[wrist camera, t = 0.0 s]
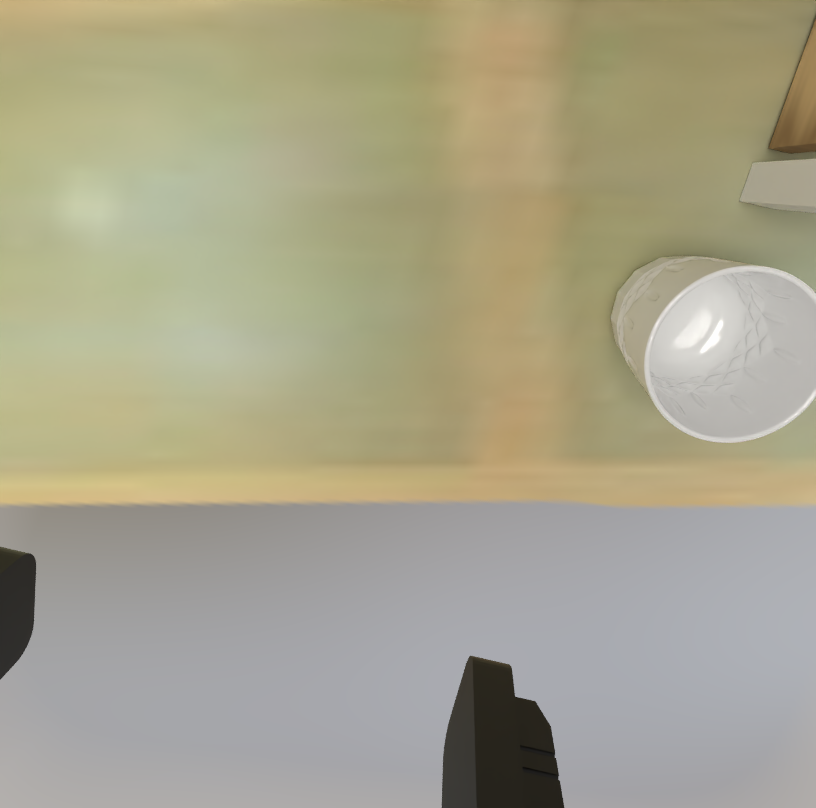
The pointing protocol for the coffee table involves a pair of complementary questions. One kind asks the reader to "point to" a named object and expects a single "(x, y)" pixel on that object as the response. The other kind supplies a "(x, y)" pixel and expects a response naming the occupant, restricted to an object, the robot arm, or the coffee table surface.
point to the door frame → (782, 185)
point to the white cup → (719, 344)
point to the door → (799, 107)
